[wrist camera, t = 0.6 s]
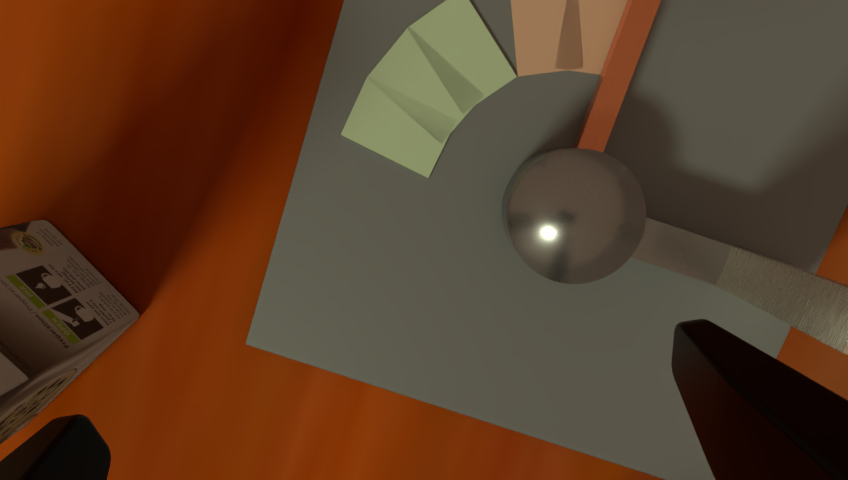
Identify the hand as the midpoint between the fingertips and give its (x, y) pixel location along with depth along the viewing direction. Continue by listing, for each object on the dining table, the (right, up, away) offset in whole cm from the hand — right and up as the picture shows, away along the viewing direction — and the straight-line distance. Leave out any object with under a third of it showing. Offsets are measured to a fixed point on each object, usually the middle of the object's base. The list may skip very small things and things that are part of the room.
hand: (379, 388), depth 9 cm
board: (+7, +5, +16) cm, 18 cm away
